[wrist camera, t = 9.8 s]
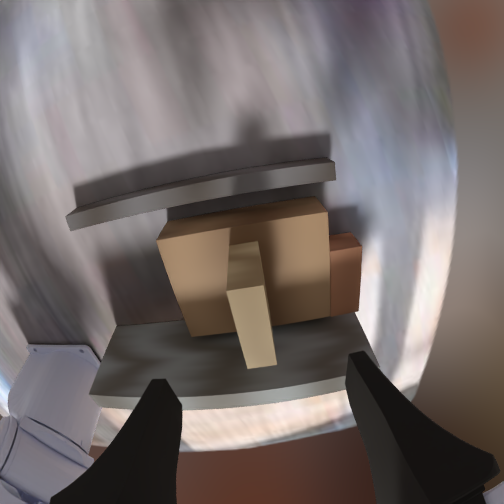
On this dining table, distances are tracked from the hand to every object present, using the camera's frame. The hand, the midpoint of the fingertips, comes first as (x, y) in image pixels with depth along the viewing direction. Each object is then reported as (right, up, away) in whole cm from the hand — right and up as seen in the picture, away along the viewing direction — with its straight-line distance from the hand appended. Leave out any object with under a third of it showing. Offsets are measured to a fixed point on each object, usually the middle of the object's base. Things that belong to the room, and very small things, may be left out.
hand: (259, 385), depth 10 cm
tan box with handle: (0, +5, +8) cm, 10 cm away
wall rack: (-3, +4, +8) cm, 10 cm away
